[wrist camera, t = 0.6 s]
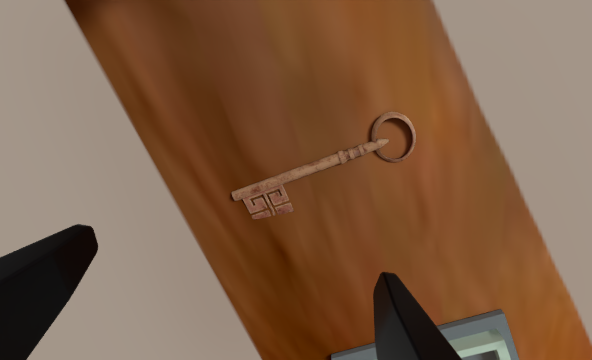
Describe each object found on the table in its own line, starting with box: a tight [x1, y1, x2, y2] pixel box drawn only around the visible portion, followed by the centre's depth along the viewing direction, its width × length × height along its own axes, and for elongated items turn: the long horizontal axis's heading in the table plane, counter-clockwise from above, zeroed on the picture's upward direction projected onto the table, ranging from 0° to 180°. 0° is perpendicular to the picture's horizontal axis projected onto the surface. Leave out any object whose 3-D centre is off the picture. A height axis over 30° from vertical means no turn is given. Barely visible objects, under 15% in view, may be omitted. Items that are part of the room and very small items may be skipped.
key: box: [232, 112, 416, 219], centre depth 24 cm, size 6×1×15 cm
